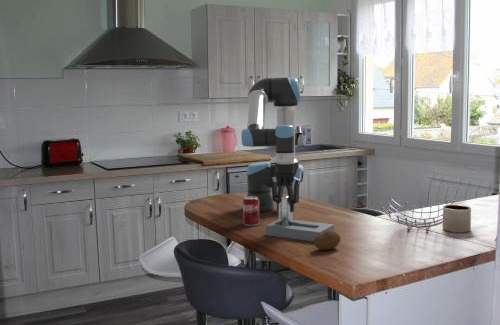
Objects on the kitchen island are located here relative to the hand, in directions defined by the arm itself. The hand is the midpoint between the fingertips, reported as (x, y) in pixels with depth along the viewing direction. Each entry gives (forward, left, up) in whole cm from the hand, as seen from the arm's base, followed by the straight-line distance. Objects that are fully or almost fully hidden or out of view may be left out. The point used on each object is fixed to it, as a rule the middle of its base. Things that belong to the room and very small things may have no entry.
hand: (285, 218), depth 226 cm
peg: (0, 0, -4) cm, 4 cm away
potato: (+14, +24, -6) cm, 29 cm away
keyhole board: (0, +6, -6) cm, 9 cm away
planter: (-36, +60, -6) cm, 71 cm away
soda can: (-6, -21, -6) cm, 22 cm away
